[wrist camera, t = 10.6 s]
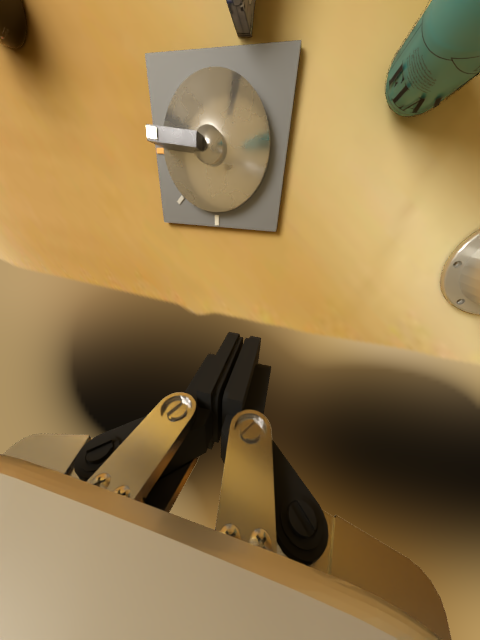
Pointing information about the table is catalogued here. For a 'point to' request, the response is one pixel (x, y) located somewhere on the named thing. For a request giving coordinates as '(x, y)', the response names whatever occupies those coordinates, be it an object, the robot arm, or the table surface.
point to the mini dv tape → (242, 16)
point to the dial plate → (277, 99)
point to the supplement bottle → (12, 23)
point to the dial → (215, 139)
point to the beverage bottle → (435, 57)
